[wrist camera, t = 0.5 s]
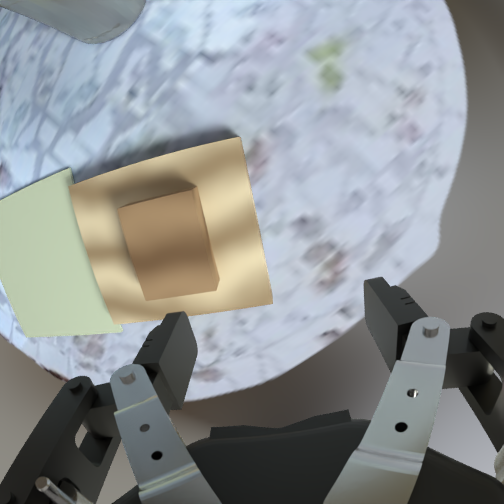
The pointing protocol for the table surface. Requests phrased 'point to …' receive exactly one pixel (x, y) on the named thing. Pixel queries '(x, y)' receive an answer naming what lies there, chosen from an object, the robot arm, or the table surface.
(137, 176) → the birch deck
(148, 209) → the walnut slab
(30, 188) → the sage mat
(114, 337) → the table surface
